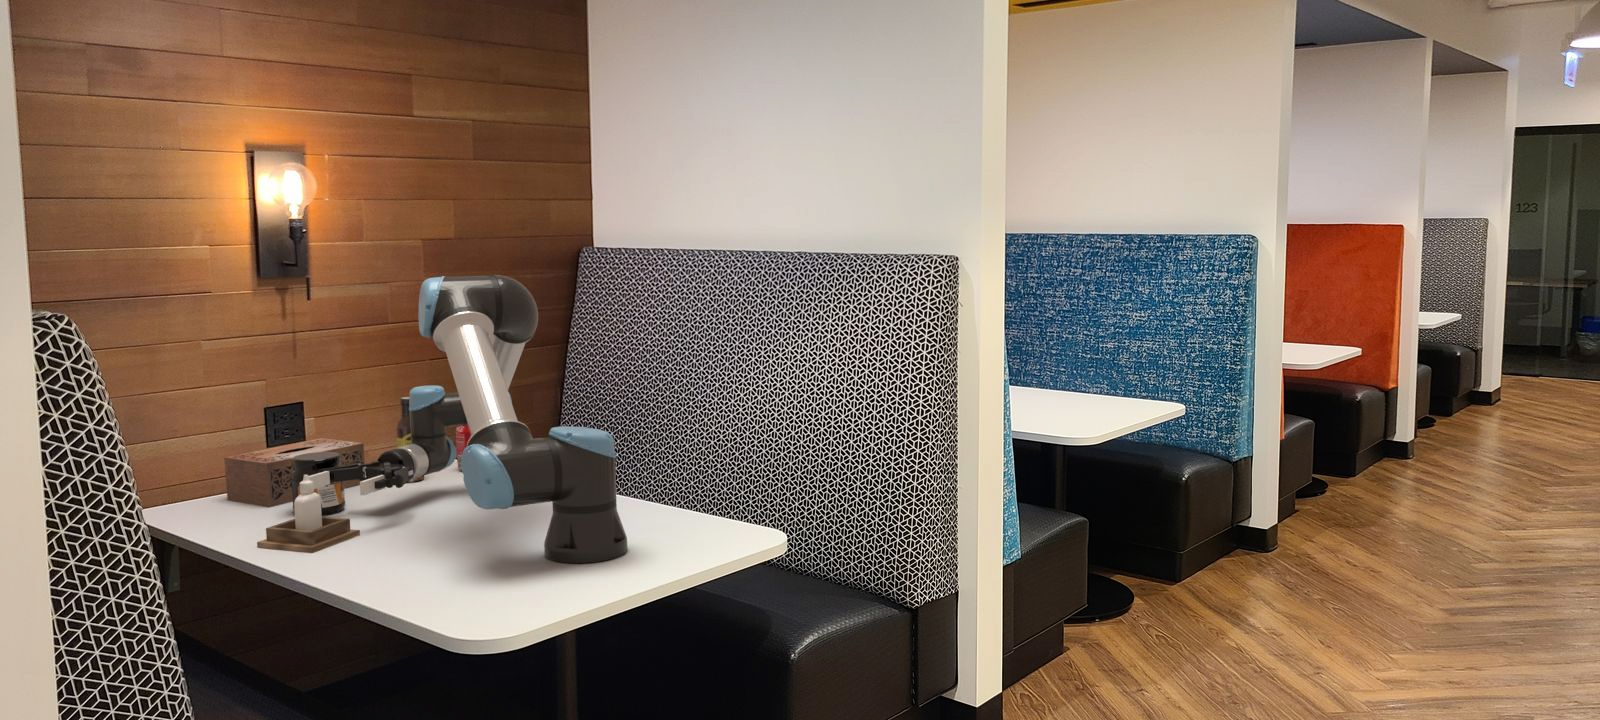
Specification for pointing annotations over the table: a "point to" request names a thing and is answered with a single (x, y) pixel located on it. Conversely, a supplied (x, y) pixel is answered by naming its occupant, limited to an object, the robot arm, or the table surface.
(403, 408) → the sauce bottle
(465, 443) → the soda can
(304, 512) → the eye dropper bottle
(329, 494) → the supplement container
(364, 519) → the table surface
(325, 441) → the tissue box cover
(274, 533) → the square wooden tray stand
